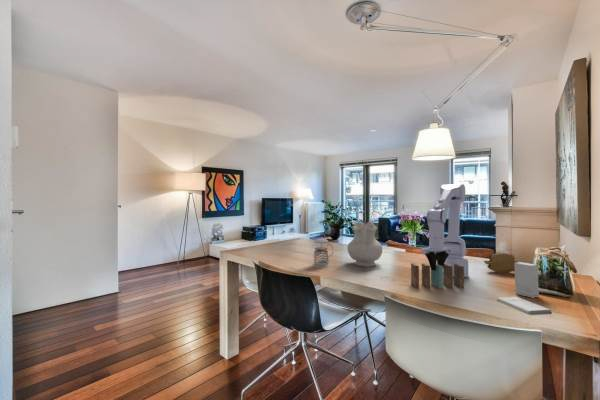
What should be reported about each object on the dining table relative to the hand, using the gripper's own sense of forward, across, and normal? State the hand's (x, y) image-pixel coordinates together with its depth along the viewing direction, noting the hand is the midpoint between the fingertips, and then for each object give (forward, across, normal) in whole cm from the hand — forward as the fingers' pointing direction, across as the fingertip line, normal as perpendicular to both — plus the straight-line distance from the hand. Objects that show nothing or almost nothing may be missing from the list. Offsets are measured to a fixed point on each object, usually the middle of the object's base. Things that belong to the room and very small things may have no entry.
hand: (436, 269), depth 119 cm
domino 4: (+7, -4, +2) cm, 8 cm away
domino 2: (+7, +4, -2) cm, 8 cm away
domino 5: (+7, -8, +3) cm, 11 cm away
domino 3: (+7, 0, 0) cm, 7 cm away
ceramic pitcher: (+7, +9, -44) cm, 45 cm away
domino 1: (+7, +8, -3) cm, 11 cm away
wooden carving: (+7, -47, -9) cm, 49 cm away
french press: (+7, +33, -48) cm, 59 cm away
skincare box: (+7, -24, +19) cm, 32 cm away
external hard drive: (+8, -11, +27) cm, 30 cm away
